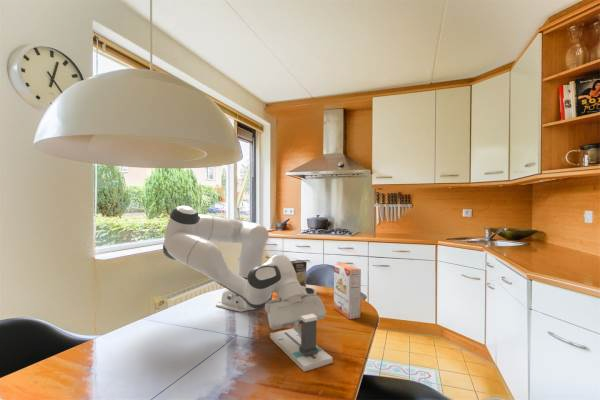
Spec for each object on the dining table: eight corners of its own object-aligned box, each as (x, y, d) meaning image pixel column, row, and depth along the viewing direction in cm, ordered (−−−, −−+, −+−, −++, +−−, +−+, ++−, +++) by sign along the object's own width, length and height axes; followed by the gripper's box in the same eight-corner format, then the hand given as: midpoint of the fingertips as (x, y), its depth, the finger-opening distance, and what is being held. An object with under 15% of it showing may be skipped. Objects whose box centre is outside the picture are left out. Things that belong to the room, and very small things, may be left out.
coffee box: (292, 293, 156) (292, 263, 156) (286, 290, 162) (286, 261, 162) (306, 290, 161) (306, 261, 161) (300, 287, 166) (300, 259, 167)
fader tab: (299, 350, 91) (299, 315, 91) (311, 347, 93) (311, 313, 93) (305, 356, 87) (306, 319, 87) (317, 353, 89) (318, 317, 89)
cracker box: (332, 308, 133) (333, 263, 134) (344, 307, 135) (344, 262, 136) (348, 320, 120) (349, 269, 120) (361, 318, 122) (361, 268, 123)
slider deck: (269, 337, 103) (269, 333, 103) (294, 331, 108) (294, 327, 108) (304, 371, 82) (304, 366, 82) (332, 362, 87) (332, 357, 87)
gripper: (266, 296, 93) (278, 339, 84) (319, 288, 103) (335, 326, 95) (260, 306, 97) (272, 348, 88) (312, 297, 107) (327, 334, 98)
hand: (305, 336), depth 92 cm, fingers closed, pressing on fader tab
